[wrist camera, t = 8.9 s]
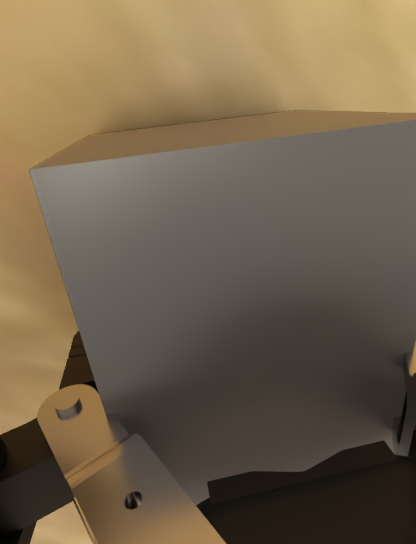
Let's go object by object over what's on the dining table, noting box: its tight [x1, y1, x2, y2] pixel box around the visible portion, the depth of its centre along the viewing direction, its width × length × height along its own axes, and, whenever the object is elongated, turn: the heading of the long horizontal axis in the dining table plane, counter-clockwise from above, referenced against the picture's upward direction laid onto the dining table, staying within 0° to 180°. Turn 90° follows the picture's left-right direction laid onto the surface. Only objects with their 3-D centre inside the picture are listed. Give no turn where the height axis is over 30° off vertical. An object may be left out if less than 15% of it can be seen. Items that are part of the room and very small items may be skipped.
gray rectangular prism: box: [29, 110, 416, 505], centre depth 11 cm, size 12×7×7 cm, turn 6°
